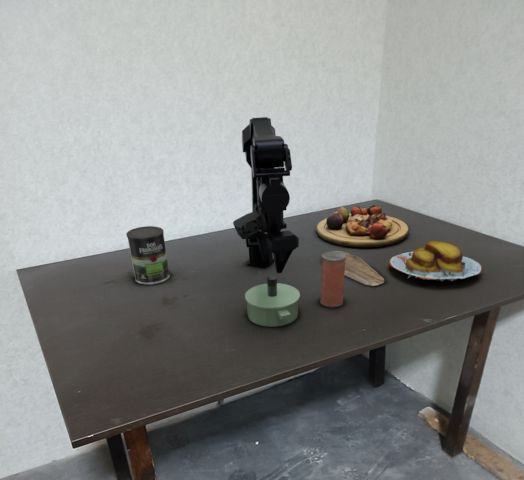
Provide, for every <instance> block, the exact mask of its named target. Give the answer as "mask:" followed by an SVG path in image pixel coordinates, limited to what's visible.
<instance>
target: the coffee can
mask: <svg viewBox="0 0 524 480" xmlns="http://www.w3.org/2000/svg"><path fill="white" fill-rule="evenodd" d="M126 238H127V241H128V247H129V253H130V258H131V262H132V268H133V275H134V280H135V282H136V283H138V284H140V285H145V286H148V285H150V286H152V285H158V284H161V283H163V282H166V281H168V280H169V278H170V277H171V275H170V269H169V264H168V263H169V262H168V256H167V249H166V241H165V232H164V229H163V228H162V227H161V226H153V225H148V226H147V225H146V226H139V227H135V228H132V229H130V230H128V231H126Z"/></svg>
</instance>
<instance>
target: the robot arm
mask: <svg viewBox="0 0 524 480" xmlns="http://www.w3.org/2000/svg"><path fill="white" fill-rule="evenodd" d="M241 147H242V148H241V149H242V153H244V155H245V162H246V163H247V165H248V166H249V167H250V173H251V174H250V176H251V177H250V178H251V179H250V180H251V210H252V211H251V212H248V213H246V214H244V215H243V216H240V217H239V218H237V219H235V220H233V222H232V224H233V227H234V230H235V231H236V233H237V235H238V236H239V237H240V238H241V239H242V240H245V246H246V248H248V261H247V262H246V265H247V266H251V267H252V266H253V267H258V268H263V269H264V268H267V267H268V266H269V265H270V264H272V263H273V262H274V266H275V272H276V274H278V275H279V274H282V273H283V271H284V269H285V266H286V265H287V263H288V260H289V259H290V257H291V255H292V254H293V252H294V251H295V250H296V249H298V248H299V247H300V238H299V237H298V236H297V235H296V234H295V233H294V232H292V231H291V230H290V229H287V228H288V227H287V223H286V222H284V211H287V208H288V206H289V204H290V200H291V197H290V193H289V190H288V189H287V187H286V185H285V183H284V177H291V171H292V170H293V164H292V156H291V150H290V148H289V145H288V144H287V143H286V142H285V140H284V138H283V137H282V136H280V135H277V134H276V128H275V127H274V126H273V125H272V119H271V117H267V116H263V117H262V116H261V117H251V118H250V119H249V124H248V125H246V127H245V128H243V129H242V131H241ZM283 229H287V230H283Z"/></svg>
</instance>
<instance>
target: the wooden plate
mask: <svg viewBox="0 0 524 480" xmlns="http://www.w3.org/2000/svg"><path fill="white" fill-rule="evenodd" d="M409 232H410V228H409V226H408V224H406V223H405V221H403V220H401V219H399V218H396V217H393V216H390V215H386V213H385V212H383V210H382V207H381V206H380V205H374V204H372V205H370V206H369V207H367V208H366V207H365V206H362V207H361V206H358V205H355V206H353V207H351V209H350V212H349V211H348V209H347V208H346V207H344V206H342V205H340V207H338V208H336V209H334V211H333V212H332V213H331V214H329V216H328V217H326V218H325V219H322V220H320V222H318V224H317V226H316V233H317V235H318V236H319V238H321V239H322V240H324V241H326V242H328V243H332V244H335V245H339V246H343V247H344V246H345V247H352V248H377V247H378V248H379V247H386V246H390V245H394V244H397V243H400V242H401V241H404V239H405V238H407V237H408V235H409Z"/></svg>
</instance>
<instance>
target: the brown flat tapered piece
mask: <svg viewBox="0 0 524 480" xmlns="http://www.w3.org/2000/svg"><path fill="white" fill-rule="evenodd" d="M336 251H337V252H342V253H344V254H345V255H346V259H345V275H344V277H345V276H346V277H348V278H350V279H352V280H354V281H355V282H358V283H360V284H363V285H364V286H369V287H370V286H371V287H375V286H379V285H382V284H384V283H385V278H384V277H383V276H381V275H380V274H379V273H378V272H377V271H376V270H375V269H374V268H372V267H371V266H370V265H369V264H368V263H367V262H366V261H365V260H363V259H362V258H361V257H360V256H358V255H354V254H352V253H350V252H346V251H341V250H336Z"/></svg>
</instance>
